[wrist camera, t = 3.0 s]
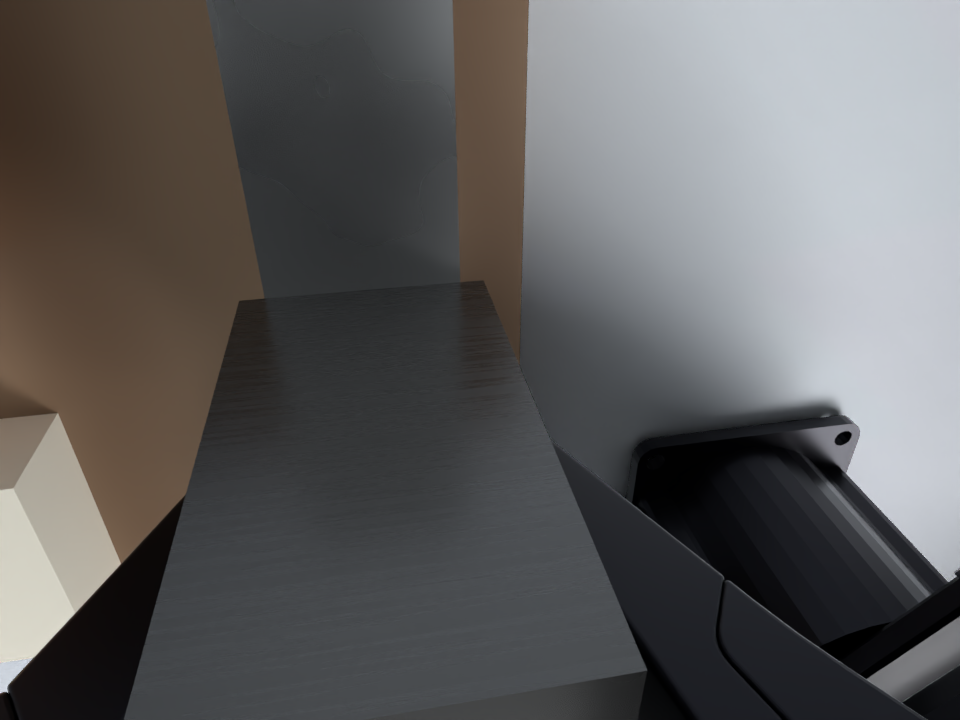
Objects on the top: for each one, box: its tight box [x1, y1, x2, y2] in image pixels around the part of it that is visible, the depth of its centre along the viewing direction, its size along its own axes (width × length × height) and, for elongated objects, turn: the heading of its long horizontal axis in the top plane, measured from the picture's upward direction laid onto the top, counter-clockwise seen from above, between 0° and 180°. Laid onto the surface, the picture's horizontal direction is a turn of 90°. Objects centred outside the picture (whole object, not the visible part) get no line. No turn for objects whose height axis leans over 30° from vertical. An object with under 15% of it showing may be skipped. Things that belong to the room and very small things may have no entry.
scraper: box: [124, 0, 647, 720], centre depth 8 cm, size 3×13×8 cm, turn 0°
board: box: [0, 0, 529, 563], centre depth 13 cm, size 14×14×2 cm
